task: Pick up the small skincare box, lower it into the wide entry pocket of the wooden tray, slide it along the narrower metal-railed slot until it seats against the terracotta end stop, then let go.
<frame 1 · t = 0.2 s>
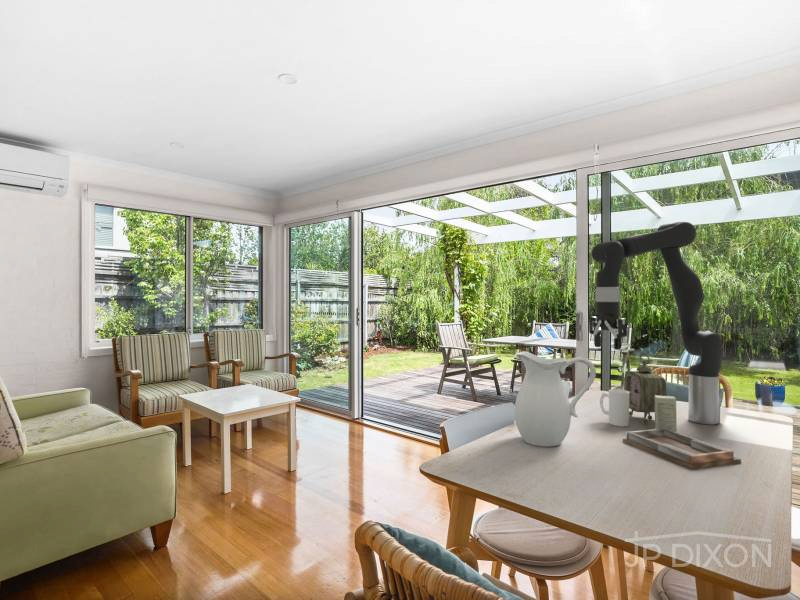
hand: (607, 348, 154), 28 cm above the table, fingers open, 8 cm apart
mug: (613, 423, 165), on the table
skincare box: (665, 433, 154), on the table
tabletop clock: (644, 420, 170), on the table
wooden tray: (678, 451, 135), on the table
pitcher: (553, 443, 142), on the table
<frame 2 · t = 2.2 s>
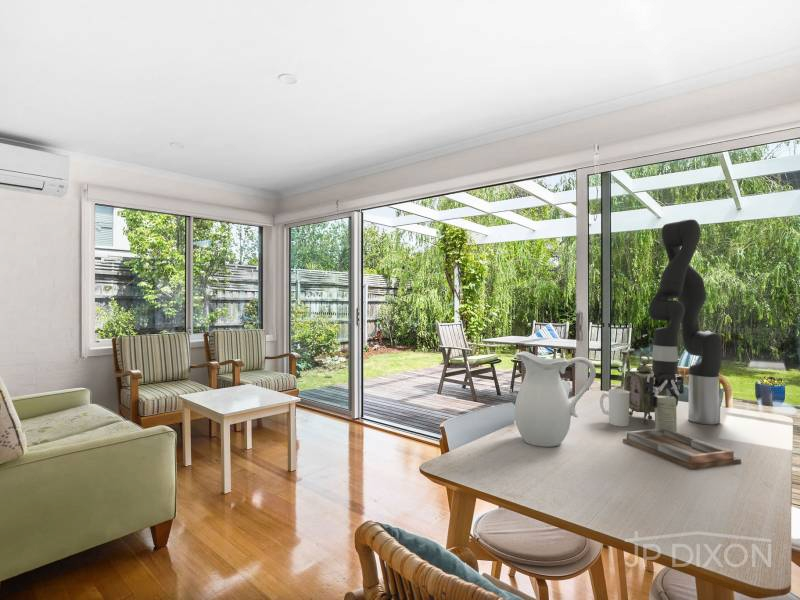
hand: (663, 406, 154), 9 cm above the table, fingers open, 8 cm apart
skincare box: (665, 433, 154), on the table, touching gripper
everything else where it was.
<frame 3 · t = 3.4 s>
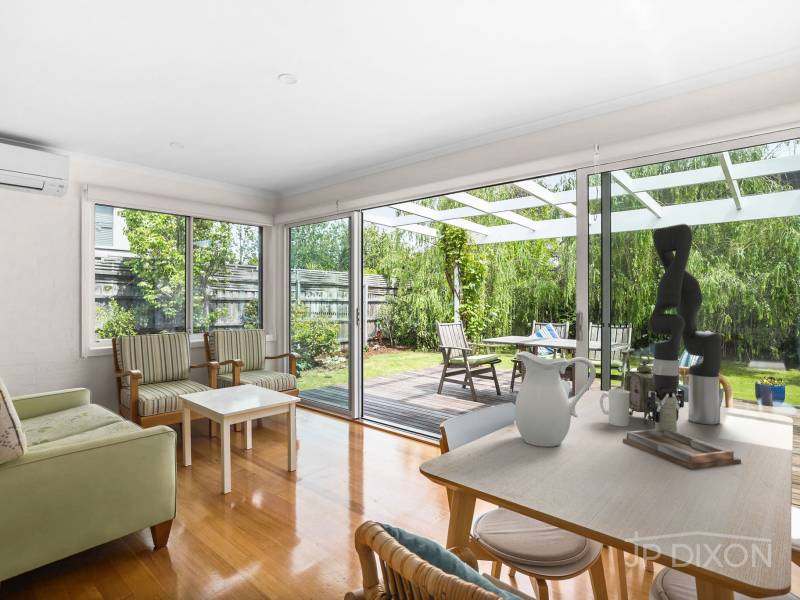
hand: (665, 421, 154), 4 cm above the table, fingers closed on skincare box, 7 cm apart
skincare box: (665, 433, 154), on the table, touching gripper
everything else where it was.
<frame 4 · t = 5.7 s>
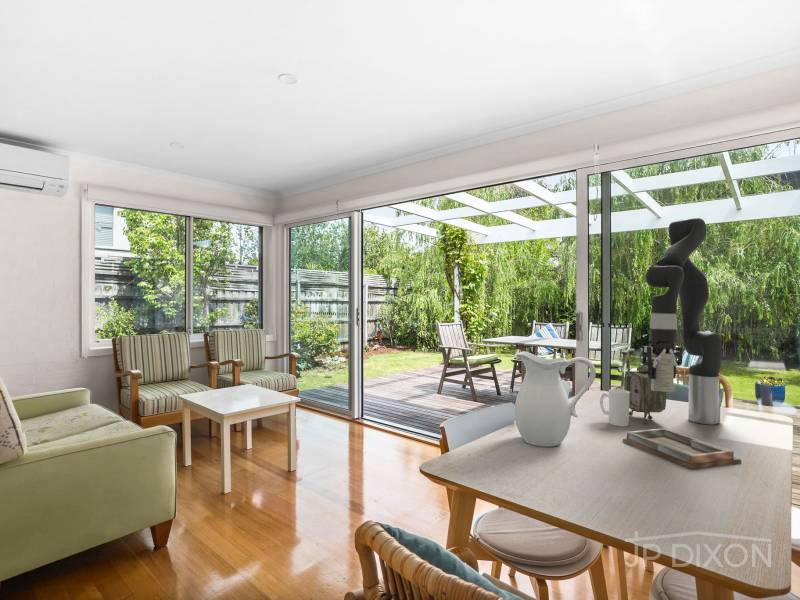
hand: (661, 378, 146), 20 cm above the table, fingers closed on skincare box, 7 cm apart
skincare box: (661, 391, 146), point 16 cm above the table, touching gripper
everything else where it was.
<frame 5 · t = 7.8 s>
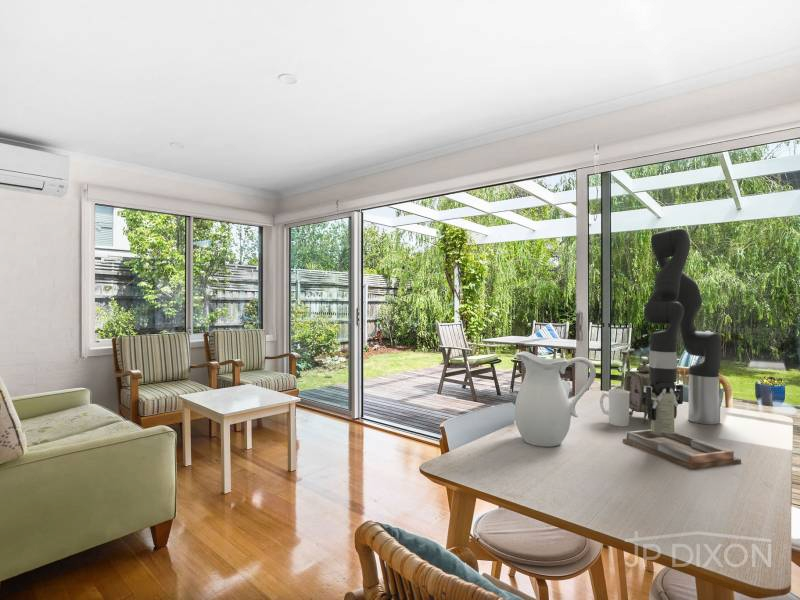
hand: (662, 418, 140), 8 cm above the table, fingers closed on skincare box, 7 cm apart
skincare box: (661, 432, 140), point 4 cm above the table, touching gripper
everything else where it was.
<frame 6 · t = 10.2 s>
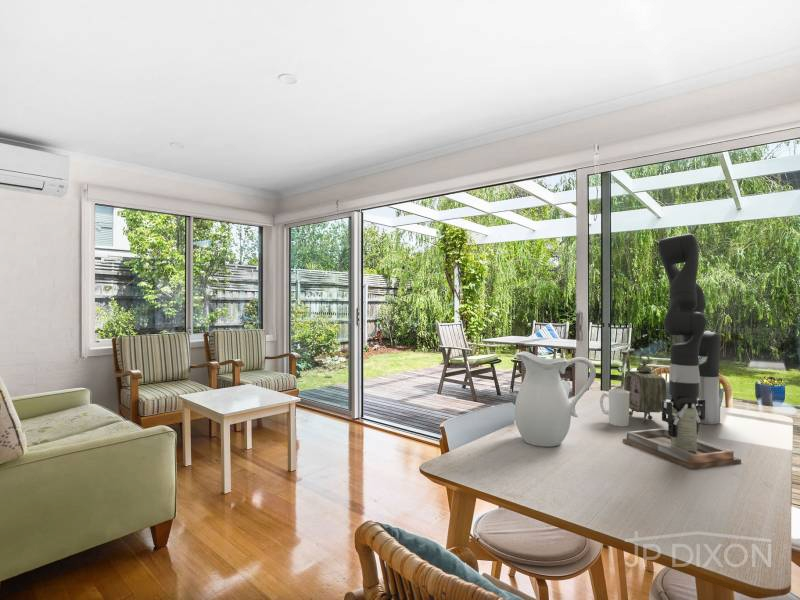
hand: (683, 435, 133), 5 cm above the table, fingers closed on skincare box, 7 cm apart
skincare box: (683, 449, 133), point 1 cm above the table, touching gripper
everything else where it was.
when the fingers open (5 cm above the table, at t = 12.6 s): skincare box stays where it is, resting on wooden tray.
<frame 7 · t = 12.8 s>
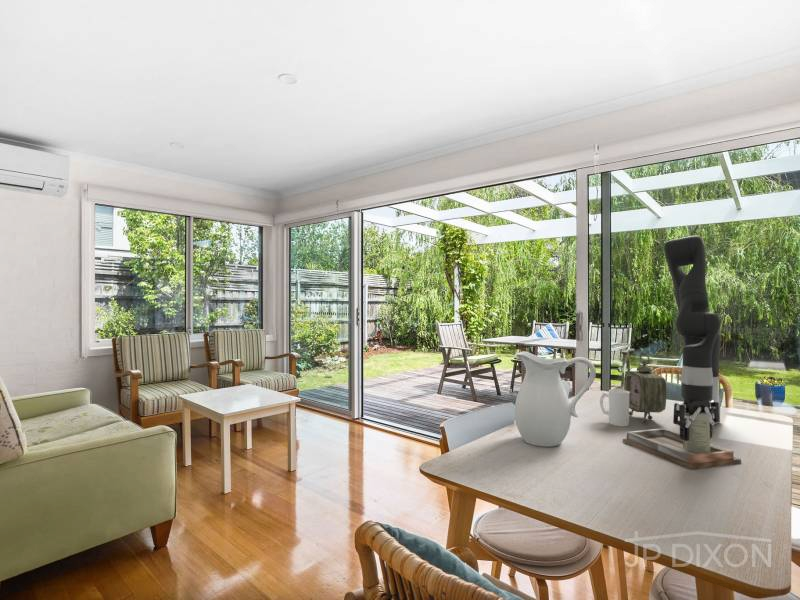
hand: (696, 438, 129), 6 cm above the table, fingers open, 8 cm apart
skincare box: (695, 455, 129), point 1 cm above the table, touching wooden tray
everything else where it was.
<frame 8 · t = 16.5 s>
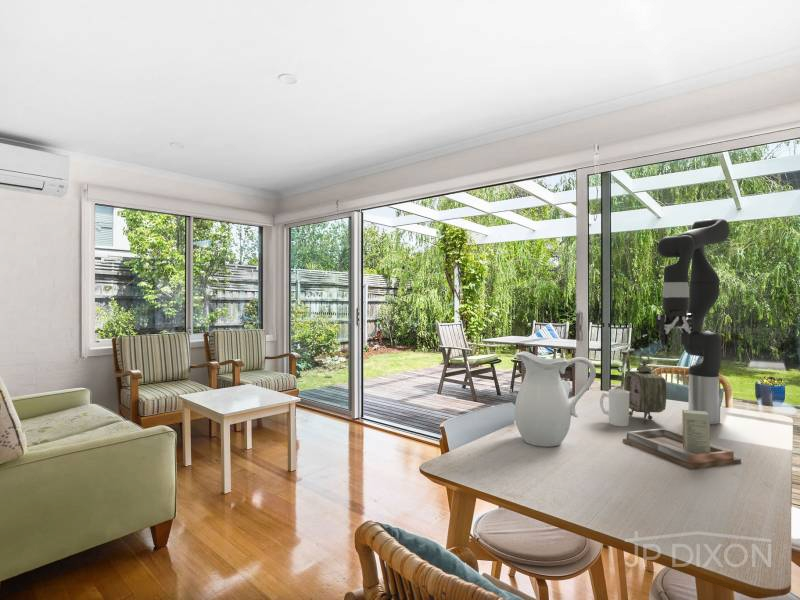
hand: (675, 344, 151), 30 cm above the table, fingers open, 8 cm apart
nothing on the table moved.
at the end: skincare box inside the target area on the wooden tray (0.6 cm from its centre), point 0.8 cm above the wooden tray's base; skincare box tilted 0°; the gripper is holding nothing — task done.
